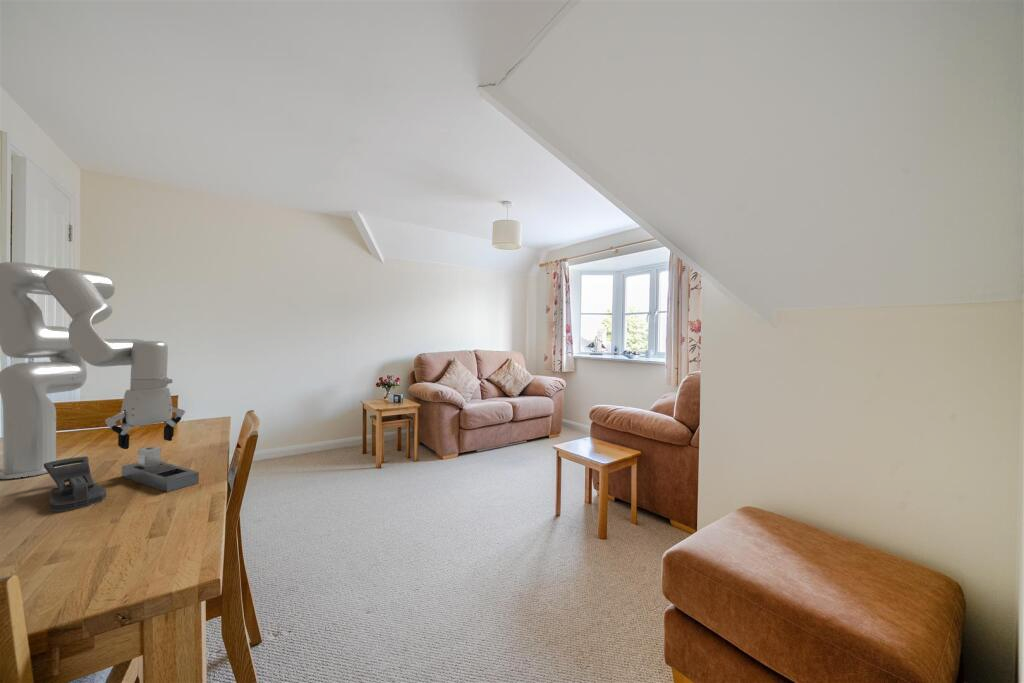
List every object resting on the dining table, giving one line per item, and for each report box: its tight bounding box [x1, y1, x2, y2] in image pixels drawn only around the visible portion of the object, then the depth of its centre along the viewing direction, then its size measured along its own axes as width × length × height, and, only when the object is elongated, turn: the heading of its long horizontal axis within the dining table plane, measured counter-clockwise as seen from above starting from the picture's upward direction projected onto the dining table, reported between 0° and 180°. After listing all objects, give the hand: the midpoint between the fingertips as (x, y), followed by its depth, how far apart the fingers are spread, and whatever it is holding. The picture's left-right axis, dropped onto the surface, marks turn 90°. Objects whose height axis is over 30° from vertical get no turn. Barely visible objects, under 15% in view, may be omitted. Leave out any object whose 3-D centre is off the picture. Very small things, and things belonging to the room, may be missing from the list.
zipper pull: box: [44, 456, 107, 513], centre depth 96 cm, size 9×7×25 cm
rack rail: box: [121, 460, 200, 493], centre depth 107 cm, size 24×7×3 cm, turn 65°
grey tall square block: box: [137, 445, 162, 470], centre depth 109 cm, size 4×4×8 cm
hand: (146, 444), depth 109 cm, fingers open, 9 cm apart
